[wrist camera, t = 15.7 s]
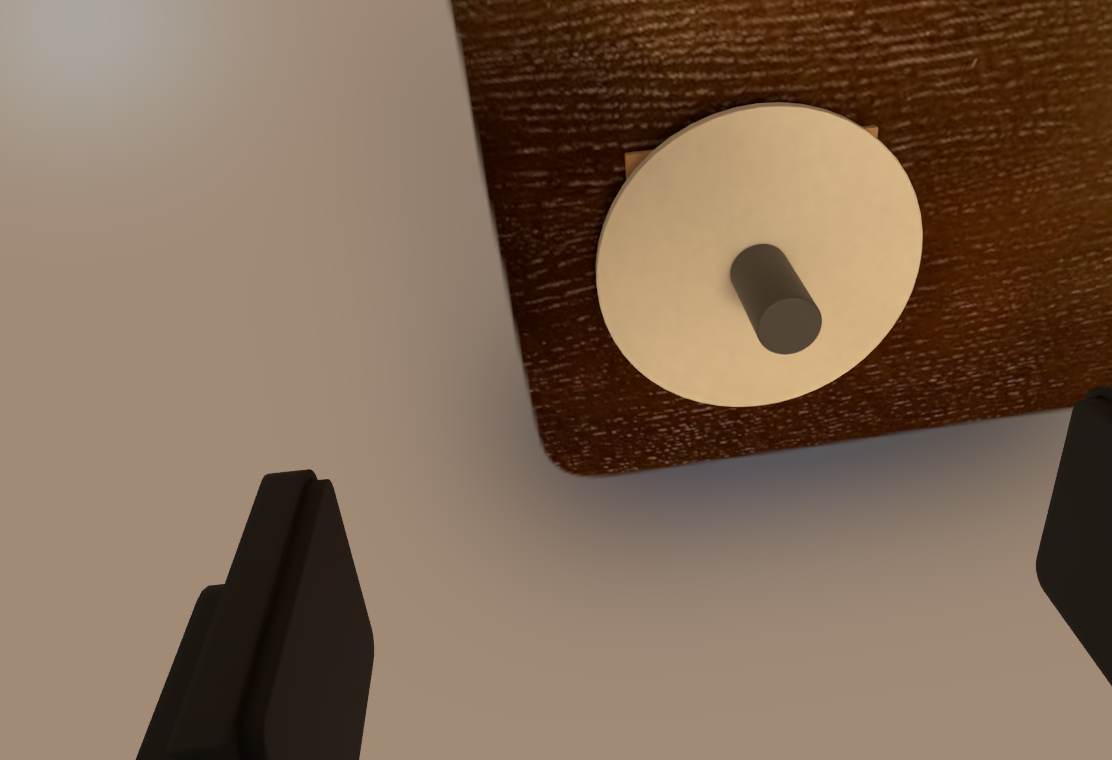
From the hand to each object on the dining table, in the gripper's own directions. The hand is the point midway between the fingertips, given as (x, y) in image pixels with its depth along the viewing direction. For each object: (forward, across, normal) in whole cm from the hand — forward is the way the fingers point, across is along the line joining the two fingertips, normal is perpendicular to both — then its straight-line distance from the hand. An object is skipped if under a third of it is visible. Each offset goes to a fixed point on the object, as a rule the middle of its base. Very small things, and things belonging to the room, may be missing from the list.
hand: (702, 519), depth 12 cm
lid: (+26, -7, +9) cm, 28 cm away
